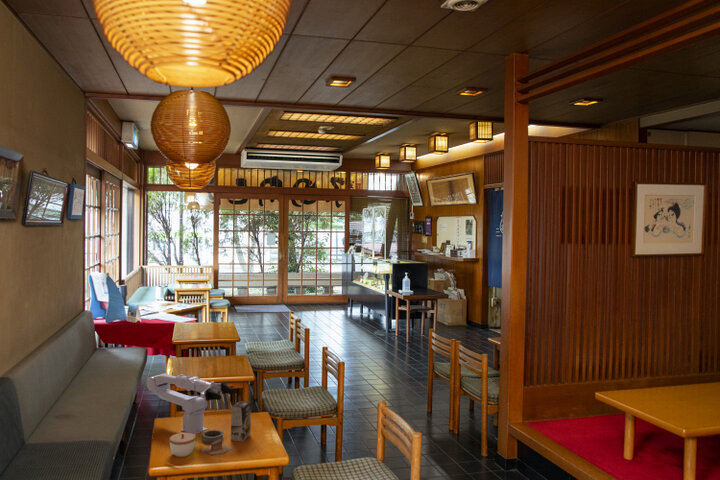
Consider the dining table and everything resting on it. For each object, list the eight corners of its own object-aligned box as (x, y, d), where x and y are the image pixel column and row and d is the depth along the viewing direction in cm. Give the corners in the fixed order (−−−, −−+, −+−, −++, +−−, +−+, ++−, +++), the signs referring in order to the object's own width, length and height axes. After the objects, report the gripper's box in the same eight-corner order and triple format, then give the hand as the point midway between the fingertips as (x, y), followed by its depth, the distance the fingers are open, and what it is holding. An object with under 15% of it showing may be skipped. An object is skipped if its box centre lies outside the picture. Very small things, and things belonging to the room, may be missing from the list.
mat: (199, 452, 241) (199, 451, 241) (216, 444, 250) (216, 443, 250) (217, 457, 236) (217, 456, 236) (233, 449, 245) (233, 448, 245)
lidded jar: (195, 458, 235) (195, 437, 234) (168, 461, 232) (169, 439, 231) (195, 448, 245) (195, 427, 245) (169, 451, 242) (170, 429, 242)
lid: (199, 451, 241) (200, 442, 241) (216, 443, 250) (216, 435, 250) (217, 456, 236) (217, 448, 236) (233, 448, 245) (233, 440, 245)
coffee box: (243, 442, 253) (244, 407, 253) (230, 440, 255) (230, 406, 254) (251, 435, 262) (251, 401, 262) (238, 433, 263) (239, 400, 263)
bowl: (197, 441, 253) (197, 435, 253) (212, 434, 261) (212, 428, 261) (212, 445, 248) (212, 439, 248) (227, 438, 257) (227, 432, 257)
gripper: (193, 384, 255) (214, 391, 248) (216, 374, 267) (237, 381, 260) (193, 399, 256) (214, 406, 249) (217, 388, 268) (237, 395, 261)
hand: (226, 394), depth 255 cm, fingers open, 7 cm apart
